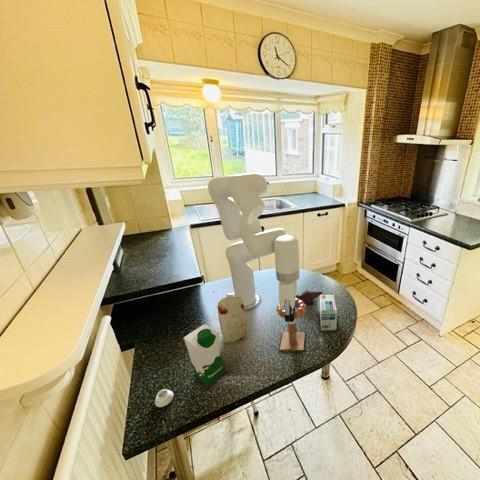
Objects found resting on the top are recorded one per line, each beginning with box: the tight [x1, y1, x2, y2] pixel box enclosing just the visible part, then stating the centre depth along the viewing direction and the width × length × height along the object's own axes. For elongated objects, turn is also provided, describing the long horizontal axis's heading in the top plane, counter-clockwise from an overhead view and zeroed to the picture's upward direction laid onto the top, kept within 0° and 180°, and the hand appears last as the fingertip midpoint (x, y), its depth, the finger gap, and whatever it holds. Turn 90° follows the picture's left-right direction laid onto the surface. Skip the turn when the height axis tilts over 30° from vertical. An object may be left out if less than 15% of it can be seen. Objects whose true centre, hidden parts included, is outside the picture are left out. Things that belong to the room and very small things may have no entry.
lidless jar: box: [154, 388, 174, 408], centre depth 79 cm, size 5×3×5 cm
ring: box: [276, 298, 307, 320], centre depth 93 cm, size 10×10×2 cm
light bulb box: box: [319, 294, 338, 332], centre depth 110 cm, size 11×7×11 cm, turn 4°
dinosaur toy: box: [295, 289, 324, 307], centre depth 122 cm, size 7×7×15 cm
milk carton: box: [183, 323, 226, 388], centre depth 84 cm, size 9×9×20 cm
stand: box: [279, 318, 306, 351], centre depth 99 cm, size 9×9×11 cm
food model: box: [216, 296, 248, 343], centre depth 99 cm, size 10×7×20 cm
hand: (290, 317), depth 90 cm, fingers closed on ring, 2 cm apart
